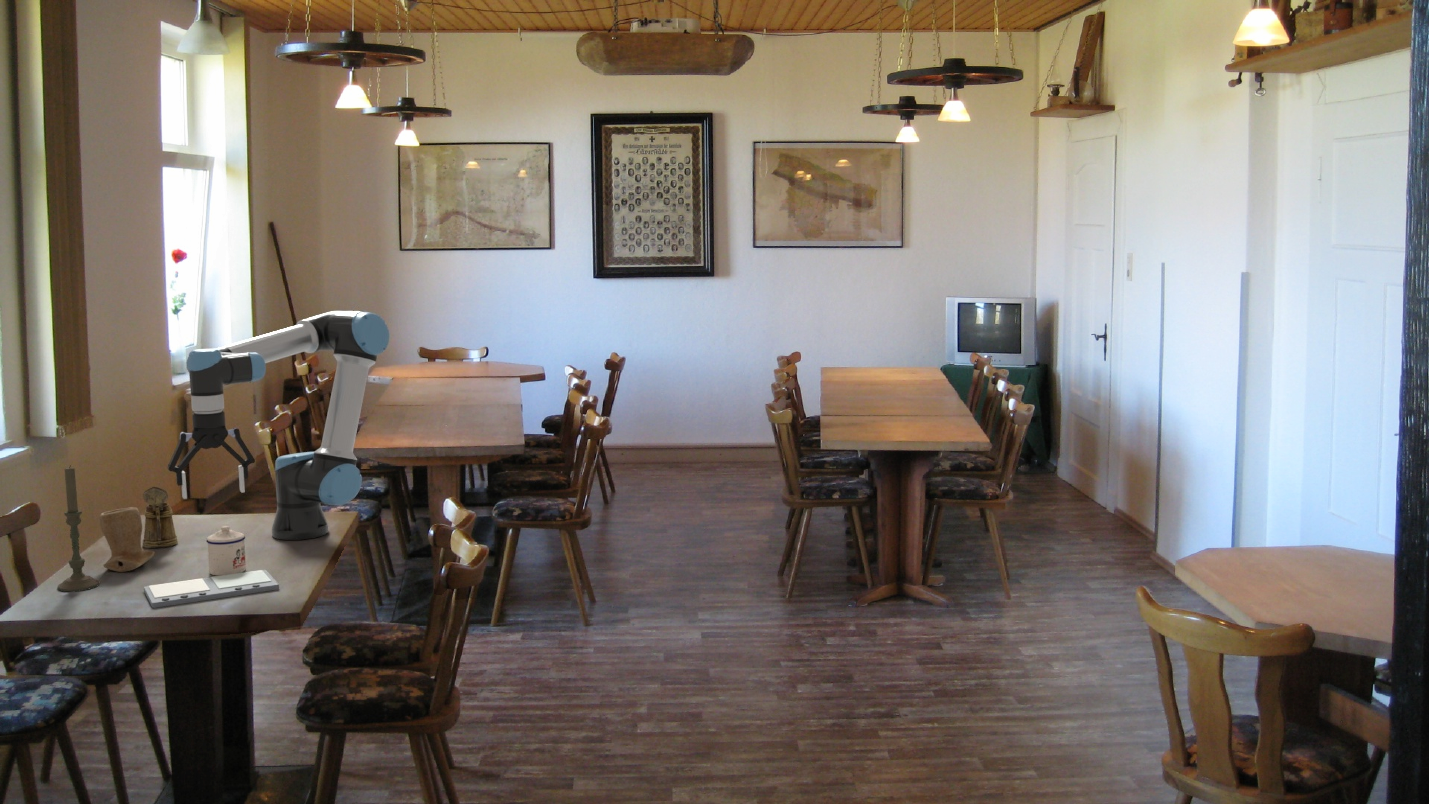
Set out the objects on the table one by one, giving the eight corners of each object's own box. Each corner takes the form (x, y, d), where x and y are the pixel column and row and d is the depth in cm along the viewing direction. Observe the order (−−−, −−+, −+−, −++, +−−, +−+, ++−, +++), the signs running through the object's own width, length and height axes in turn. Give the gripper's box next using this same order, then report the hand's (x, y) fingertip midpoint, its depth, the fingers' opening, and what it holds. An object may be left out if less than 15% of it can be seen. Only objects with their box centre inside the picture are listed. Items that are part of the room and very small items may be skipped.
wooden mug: (139, 554, 328) (135, 488, 325) (143, 542, 341) (139, 478, 338) (176, 551, 331) (171, 485, 328) (178, 539, 344) (174, 476, 341)
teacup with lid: (240, 576, 308) (237, 530, 306) (203, 576, 307) (200, 531, 305) (255, 563, 319) (252, 519, 318) (219, 563, 319) (216, 519, 317)
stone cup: (113, 558, 324) (109, 502, 322) (160, 557, 325) (156, 501, 323) (90, 574, 309) (86, 516, 307) (140, 573, 310) (136, 515, 308)
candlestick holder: (102, 587, 298) (93, 465, 294) (60, 594, 293) (50, 470, 288) (96, 578, 305) (87, 460, 301) (54, 585, 300) (45, 464, 296)
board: (265, 574, 309) (265, 568, 309) (279, 589, 297) (278, 583, 296) (144, 591, 295) (143, 585, 295) (152, 608, 282) (152, 602, 282)
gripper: (257, 405, 316) (262, 486, 319) (151, 413, 303) (157, 497, 306) (263, 409, 309) (268, 491, 312) (155, 417, 297) (161, 503, 300)
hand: (213, 494), depth 309 cm, fingers open, 13 cm apart
